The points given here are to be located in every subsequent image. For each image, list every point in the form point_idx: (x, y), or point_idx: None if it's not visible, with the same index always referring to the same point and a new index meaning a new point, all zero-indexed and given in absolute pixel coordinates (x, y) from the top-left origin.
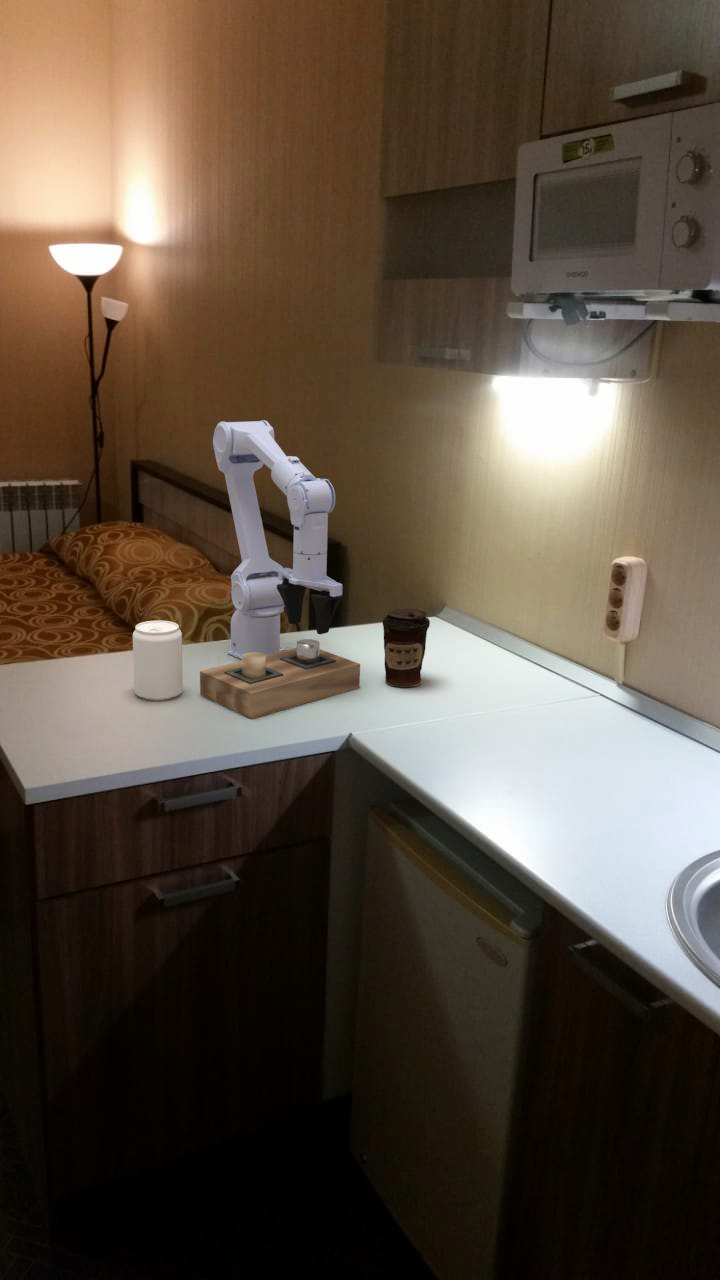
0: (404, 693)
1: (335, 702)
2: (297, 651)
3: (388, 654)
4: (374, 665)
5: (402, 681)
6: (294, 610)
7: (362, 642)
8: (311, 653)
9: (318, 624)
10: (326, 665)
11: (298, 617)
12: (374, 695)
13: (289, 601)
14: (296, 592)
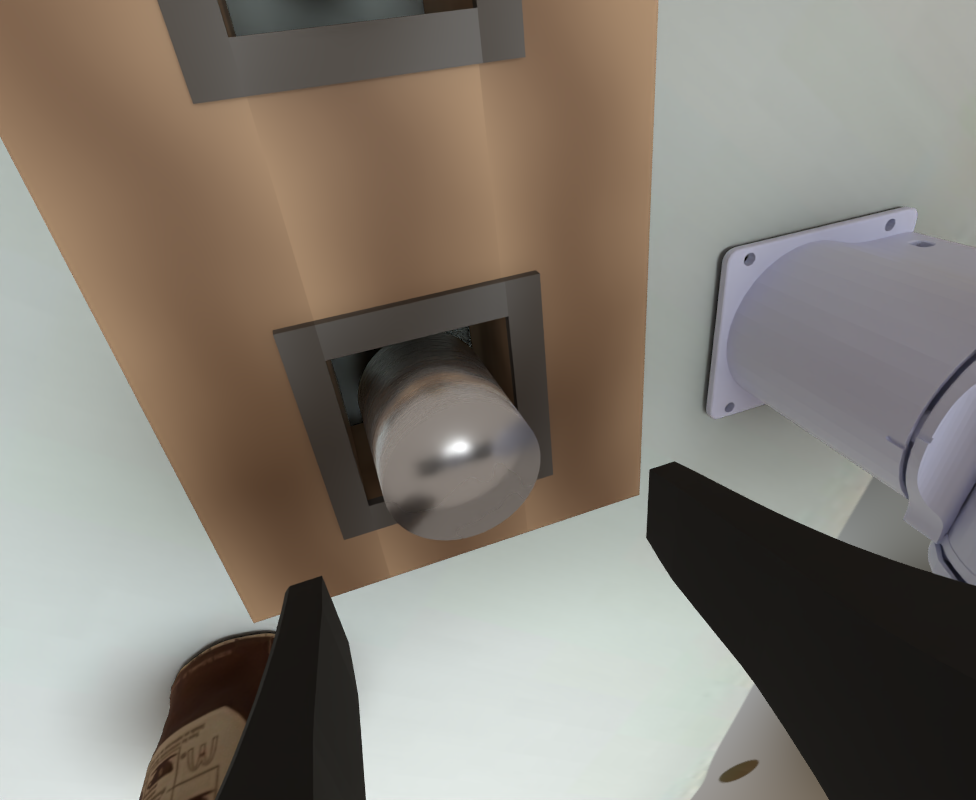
0: (112, 660)
1: (72, 363)
2: (462, 378)
3: (220, 768)
4: (470, 638)
5: (175, 693)
6: (726, 573)
7: (664, 652)
8: (377, 441)
9: (274, 661)
10: (302, 471)
11: (673, 554)
12: (126, 556)
13: (820, 610)
14: (875, 757)
